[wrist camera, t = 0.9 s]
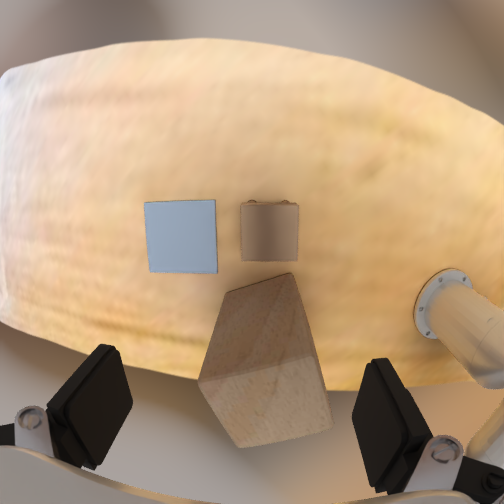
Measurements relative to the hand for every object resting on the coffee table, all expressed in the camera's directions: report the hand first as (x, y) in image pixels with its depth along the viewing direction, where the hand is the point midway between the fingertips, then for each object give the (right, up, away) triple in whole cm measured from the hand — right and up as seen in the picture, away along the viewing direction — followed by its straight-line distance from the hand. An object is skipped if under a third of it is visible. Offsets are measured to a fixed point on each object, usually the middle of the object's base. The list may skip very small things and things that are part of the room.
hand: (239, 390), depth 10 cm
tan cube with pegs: (+3, +9, +29) cm, 30 cm away
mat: (-9, +7, +30) cm, 32 cm away
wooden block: (+3, -4, +32) cm, 32 cm away
